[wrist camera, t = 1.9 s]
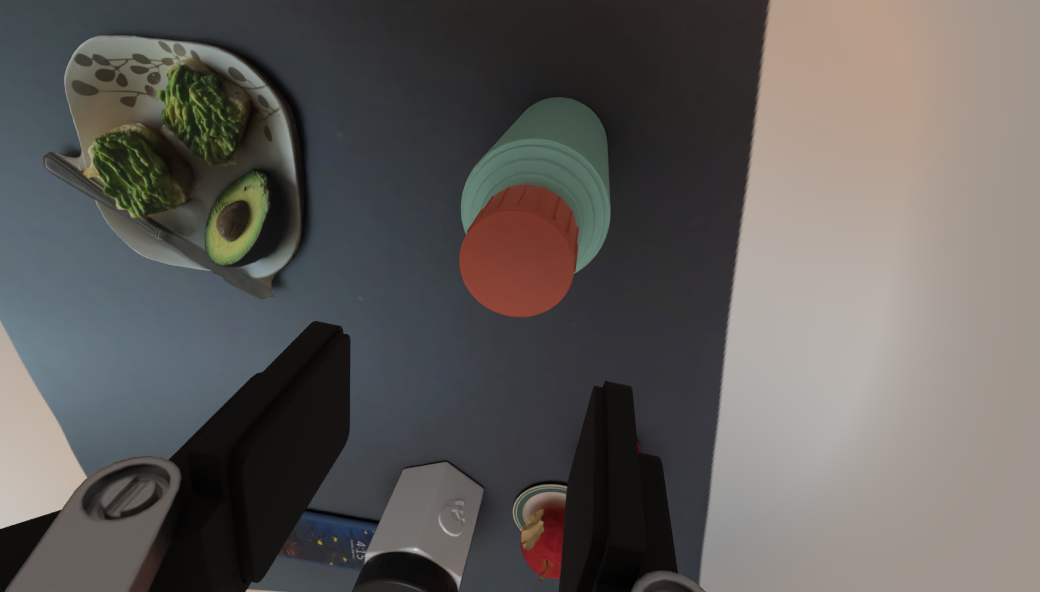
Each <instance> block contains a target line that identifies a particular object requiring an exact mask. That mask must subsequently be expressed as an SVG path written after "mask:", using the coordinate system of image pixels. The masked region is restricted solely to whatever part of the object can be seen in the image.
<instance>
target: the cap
mask: <svg viewBox="0 0 1040 592" xmlns="http://www.w3.org/2000/svg"><path fill="white" fill-rule="evenodd" d="M578 233H579V227H577V223H576V219H575V217H574V215H573V210H572V211H571V209H570V207H569V206H568V205H567V204H566V202H565V201H564V200H563V199H562V197H561V196H560V197H559V196H558V195H557V194H555V193H554V192H552V191H550V190H548V189H546V188H545V187H540V186H536V185H527V184H525V185H516V186H512V187H507V188H506V189H504V190H502V191H500V192H499V193H497V194H496V195H495V196H491V198H490V200H489V201H488V203H487V204H486V206H485V207H484V209H481V210H480V212H479V213H478V215H477V216H476V218H475V219H474V221H473V223H472V224H471V226H470V227H469V229H468V230H467V235H466V237H465V239H464V241H463V243H462V246H461V249H460V255H459V264H460V271H461V275H462V278H463V281H464V283H465V285H466V287H467V288H468V290H469V291H470V293H471V294H472V295H473V296H474V297H475V298H476V300H478V301H479V302H480V303H481V304H482V305H484V306H485V307H487V308H488V309H490V310H492V311H494V312H497V313H499V314H502V315H506V316H512V317H529V316H534V315H538V314H541V313H543V312H545V311H547V310H549V309H551V308H552V307H554V306H555V305H556V304H557V303H559V302H560V301H561V300H562V298H563V297H564V296H565V295H566V293H567V292H568V290H569V288H570V286H571V283H572V280H573V275H574V272H576V264H577V255H578V245H579V244H577V242H578Z"/></svg>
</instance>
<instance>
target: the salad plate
mask: <svg viewBox="0 0 1040 592" xmlns="http://www.w3.org/2000/svg"><path fill="white" fill-rule="evenodd" d="M64 83H65V92H66V97H67V101H68V104H69V108H70V111H71V114H72V117H73V121H74V125H75V127H76V130H77V134H78V138H79V141H80V145H81V149H82V152H81V155H80V157H78V158H73V157H68V156H64V155H61V154H59V153H56V152H49V153H47V154H46V155H44V156H43V157H42V162H43V165H44V167H45V168H46V169H47V170H48V171H49V172H51V173H52V174H53V175H54V176H56V177H58V178H59V179H61V180H63V181H64V182H66V183H67V184H69V185H71V186H73V187H74V188H76V189H78V190H79V191H81V192H83V193H85V194H86V195H88V196H90V197H91V198H93V199H94V200H95V201H96V203H97V205H98V207H99V209H100V211H101V213H102V215H103V217H104V219H105V220H106V222H107V223H108V225H109V226H110V227H111V228H112V230H113V231H114V232H115V233H116V234H117V235H118V236H119V237H120V238H121V239H122V240H123V241H124V242H125V243H126V244H127V245H129V246H130V247H131V248H132V249H133V250H134V251H136V252H137V253H139V254H140V255H142V256H144V257H146V258H148V259H151V260H155V261H159V262H162V263H165V264H170V265H175V266H181V267H188V268H194V269H199V270H208V271H212V272H213V273H215V274H218V275H220V276H222V277H223V278H224V280H225V281H226V282H228V283H230V284H231V285H233V286H235V287H237V288H238V289H241V290H242V291H245V292H247V293H249V294H251V295H253V296H255V297H258V298H261V299H263V298H267V297H273V296H274V297H275V295H274V292H273V289H272V287H271V282H272V280H273V278H274V276H275V275H276V274H277V273H278V272H279V271H281V270H282V269H283V268H284V267H285V266H286V265H288V264H289V263H290V261H291V260H292V259H293V258H294V256H295V254H296V252H297V251H298V248H299V245H300V242H301V237H302V231H303V223H304V206H305V190H304V161H303V155H302V149H301V144H300V139H299V135H298V131H297V127H296V122H295V119H294V115H293V112H292V110H291V107H290V105H289V104H288V102H287V101H286V100H285V98H284V97H283V96H282V94H281V93H280V92H279V90H278V89H277V88H276V86H275V85H274V84H273V83H272V82H271V81H270V80H269V79H268V78H267V77H266V75H265V74H264V73H263V72H262V71H261V70H259V69H258V68H257V67H255V66H254V65H253V64H252V63H250V62H249V61H248V60H246V59H245V58H243V57H242V56H240V55H238V54H236V53H234V52H231V51H229V50H227V49H225V48H222V47H220V46H216V45H213V44H210V43H206V42H200V41H175V40H167V39H157V38H146V37H138V36H127V35H116V36H110V35H99V36H96V37H94V38H90V39H88V40H87V41H85V42H84V43H83V44H81V45H80V46H79V47H78V49H77V50H76V51H75V52H74V54H73V56H72V58H71V60H70V62H69V63H68V66H67V69H66V72H65V77H64Z"/></svg>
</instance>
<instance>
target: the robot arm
mask: <svg viewBox="0 0 1040 592" xmlns="http://www.w3.org/2000/svg"><path fill="white" fill-rule="evenodd" d="M349 430H350V336H349V335H348V334H343V329H342V327H341V326H337V325H333V324H328V323H323V322H318V321H314V322H312V323H311V324H310V325H309V326H308V327H307V328H306V329H305V330H304V331H303V332H302V333H301V334H300V335H299V336H298V337H297V338H296V339H295V340H294V341H293V342H292V343H291V344H290V345H289V346H288V347H287V348H286V349H285V350H284V351H283V352H282V353H281V354H280V355H279V356H278V357H277V358H276V359H275V360H274V361H273V362H272V363H271V364H270V365H269V366H268V367H267V368H266V369H265V370H264V371H263V372H261V373H257V374H256V375H254V376H253V377H252V378H250V379H249V380H248V381H247V382H246V383H245V384H244V385H243V386H242V387H241V388H240V389H239V390H238V391H237V392H236V393H235V394H234V395H233V396H232V397H231V398H230V399H229V400H228V401H227V402H226V403H225V404H224V405H223V406H222V407H221V408H220V409H219V410H218V411H217V412H216V413H215V414H214V415H213V416H212V417H211V418H210V419H209V420H208V421H207V422H206V423H205V424H204V425H203V426H202V427H201V428H200V429H199V430H198V431H197V432H196V433H195V434H194V435H193V436H192V437H191V438H190V439H189V440H188V441H187V442H186V443H185V444H184V445H183V446H182V447H181V448H180V449H179V450H178V451H177V452H176V453H175V454H174V455H173V456H172V457H171V458H170V459H169V460H167V459H164V458H162V457H153V456H143V457H133V458H129V459H125V460H122V461H118V462H115V463H113V464H111V465H109V466H106V467H104V468H102V469H100V470H98V471H97V472H95V473H94V474H93V475H91V476H90V477H88V478H87V479H86V480H85V481H84V482H83V483H82V484H81V485H80V486H79V487H78V488H77V489H76V490H75V491H74V493H73V494H72V496H71V497H70V499H69V500H68V501H67V503H66V504H65V506H64V507H63V509H62V510H59V511H56V512H53V513H50V514H47V515H43V516H40V517H38V518H34V519H31V520H28V521H25V522H21V523H18V524H15V525H12V526H9V527H6V528H2V529H0V592H246V590H247V589H248V587H249V585H250V584H251V582H255V583H258V582H260V581H261V580H262V579H263V578H264V576H265V575H266V573H267V572H268V570H269V568H270V567H271V565H272V563H273V562H274V560H275V559H276V557H277V555H278V554H279V552H280V550H281V549H282V547H283V546H284V544H285V542H286V541H287V539H288V537H289V536H290V534H291V533H292V531H293V529H294V528H295V526H296V524H297V523H298V521H299V520H300V518H301V516H302V515H303V513H304V511H305V510H306V508H307V507H308V505H309V503H310V502H311V500H312V498H313V497H314V495H315V494H316V492H317V490H318V489H319V487H320V485H321V484H322V482H323V481H324V479H325V477H326V476H327V474H328V472H329V471H330V469H331V468H332V466H333V464H334V463H335V461H336V459H337V458H338V456H339V455H340V453H341V451H342V450H343V448H344V446H345V444H346V442H347V439H348V436H349ZM559 592H705V591H704V590H703V589H702V588H701V587H700V586H699V585H698V584H696V583H695V582H693V581H692V580H690V579H689V578H687V577H685V576H683V575H680V574H678V571H677V564H676V557H675V550H674V543H673V536H672V529H671V522H670V515H669V508H668V501H667V494H666V487H665V480H664V473H663V466H662V462H661V459H660V458H659V457H657V456H652V455H648V454H643V453H638V446H637V435H636V424H635V413H634V402H633V391H632V387H631V386H627V385H622V384H617V383H612V382H608V381H605V383H604V385H603V387H598V386H594V388H593V391H592V394H591V398H590V401H589V405H588V409H587V413H586V416H585V420H584V424H583V427H582V431H581V435H580V438H579V442H578V446H577V450H576V453H575V457H574V461H573V464H572V468H571V472H570V475H569V480H568V485H567V491H566V503H565V516H564V530H563V544H562V557H561V571H560V584H559Z"/></svg>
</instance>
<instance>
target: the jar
mask: <svg viewBox="0 0 1040 592" xmlns="http://www.w3.org/2000/svg"><path fill="white" fill-rule="evenodd" d="M483 493H484V489H483V488H482V487H481V486H479V485H478V484H477V483H475V482H474V481H473V480H471V479H470V478H469V477H467V476H466V475H464V474H463V473H462V472H460V471H459V470H458V469H456V468H455V467H453V466H452V465H451V464H449V463H448V462H441V463H435V464H430V465H424V466H418V467H412V468H406V469H404V470H403V471H402V473H401V476H400V478H399V480H398V482H397V485H396V487H395V489H394V491H393V493H392V496H391V498H390V500H389V502H388V505H387V507H386V509H385V511H384V513H383V516H382V518H381V520H380V522H379V525H378V527H377V529H376V531H375V533H374V536H373V538H372V540H371V542H370V545H369V547H368V549H367V551H366V553H365V563H364V566H363V568H362V570H361V572H360V574H359V577H358V579H357V581H356V583H355V586H354V588H353V590H352V592H459V591H460V587H461V583H462V579H463V575H464V571H465V567H466V563H467V559H468V555H469V551H470V547H471V543H472V539H473V535H474V531H475V528H476V524H477V519H478V515H479V510H480V506H481V502H482V497H483Z"/></svg>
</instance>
